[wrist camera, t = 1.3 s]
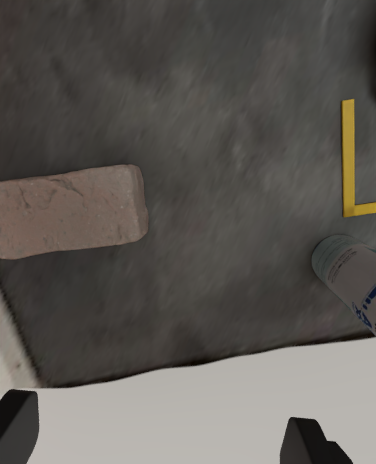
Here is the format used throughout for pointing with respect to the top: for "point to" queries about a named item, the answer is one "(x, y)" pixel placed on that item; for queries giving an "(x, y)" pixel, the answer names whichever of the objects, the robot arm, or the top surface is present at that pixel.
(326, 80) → the top surface
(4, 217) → the brick
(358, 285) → the spray paint can
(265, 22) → the top surface
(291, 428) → the robot arm
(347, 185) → the tape outline
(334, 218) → the top surface
